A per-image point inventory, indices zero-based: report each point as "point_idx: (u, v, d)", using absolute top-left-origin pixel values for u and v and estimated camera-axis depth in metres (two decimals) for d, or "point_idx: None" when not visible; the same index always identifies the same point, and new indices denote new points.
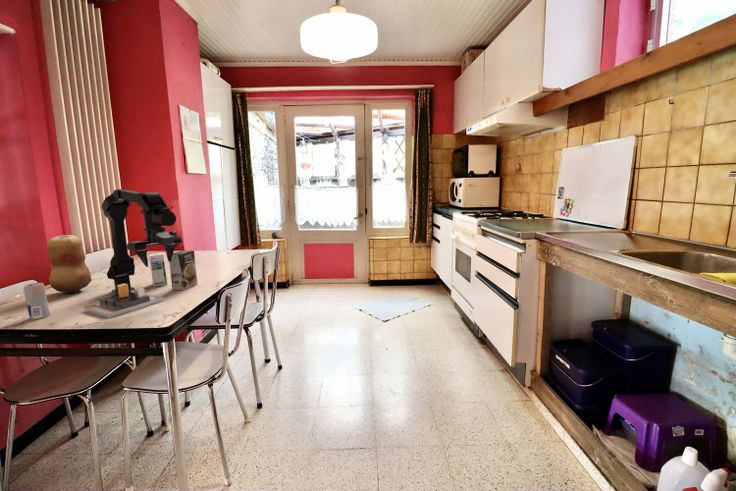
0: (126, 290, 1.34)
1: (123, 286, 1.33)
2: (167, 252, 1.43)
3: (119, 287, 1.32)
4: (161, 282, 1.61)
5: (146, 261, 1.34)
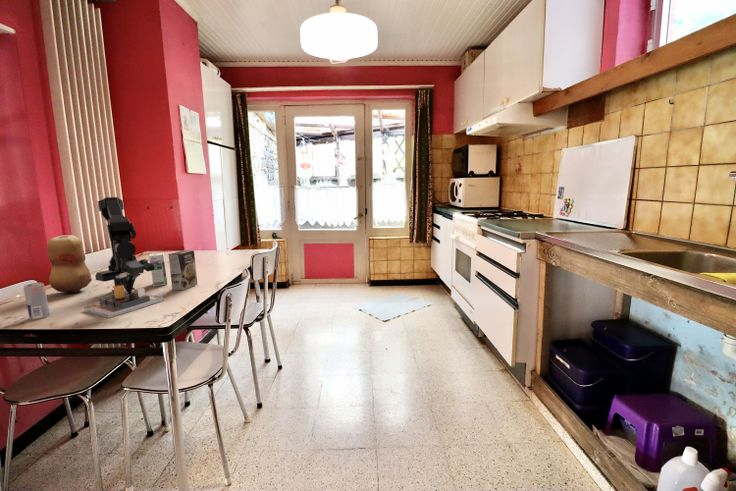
0: (122, 291, 1.33)
1: (119, 287, 1.32)
2: None
3: (115, 288, 1.31)
4: (161, 282, 1.61)
5: (128, 288, 1.35)
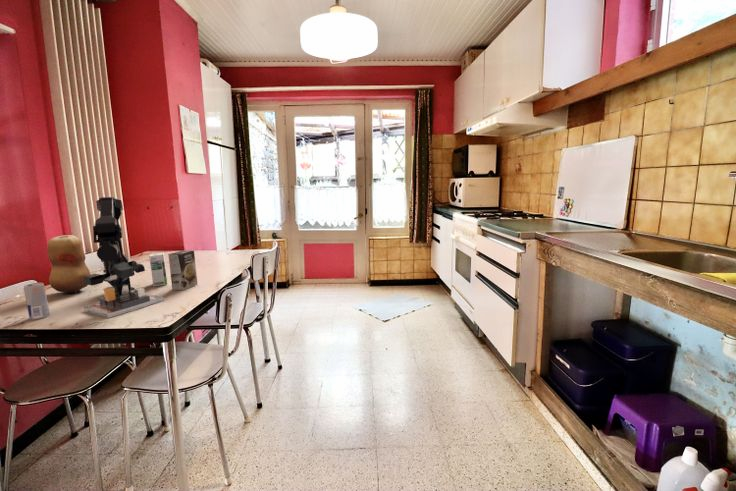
0: (113, 294, 1.30)
1: (109, 289, 1.29)
2: None
3: (105, 290, 1.28)
4: (161, 282, 1.61)
5: (119, 290, 1.32)
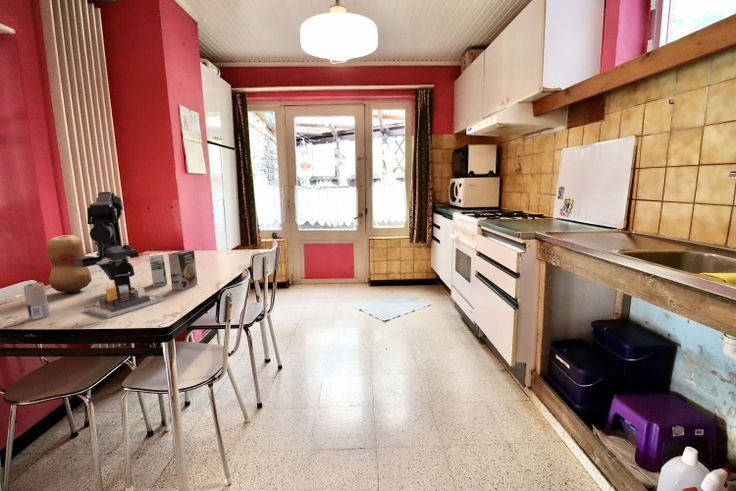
0: (114, 293, 1.30)
1: (111, 289, 1.29)
2: None
3: (107, 290, 1.29)
4: (161, 282, 1.61)
5: (111, 274, 1.29)
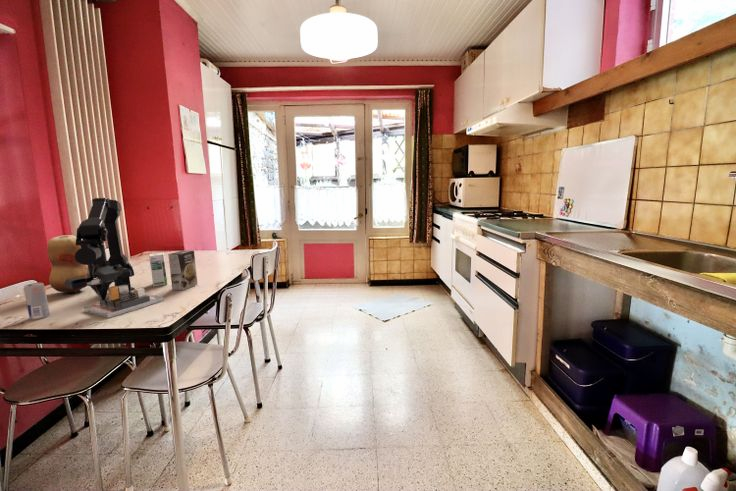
0: (117, 293, 1.31)
1: (113, 288, 1.30)
2: None
3: (109, 289, 1.29)
4: (161, 282, 1.61)
5: (101, 295, 1.27)
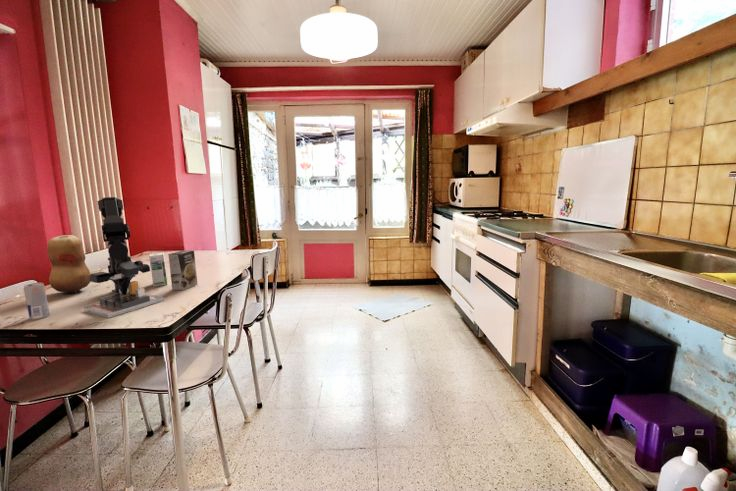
0: (137, 287, 1.37)
1: (134, 283, 1.36)
2: None
3: (130, 284, 1.36)
4: (161, 282, 1.61)
5: (123, 289, 1.33)
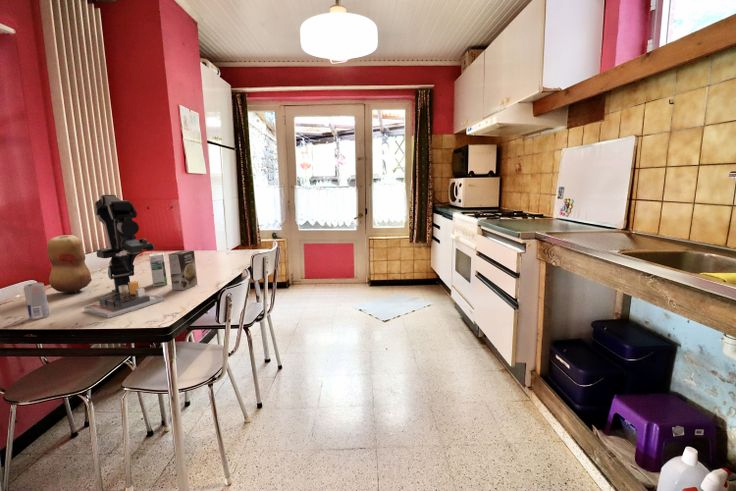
0: (137, 287, 1.37)
1: (134, 283, 1.36)
2: None
3: (130, 284, 1.36)
4: (161, 282, 1.61)
5: (128, 266, 1.40)
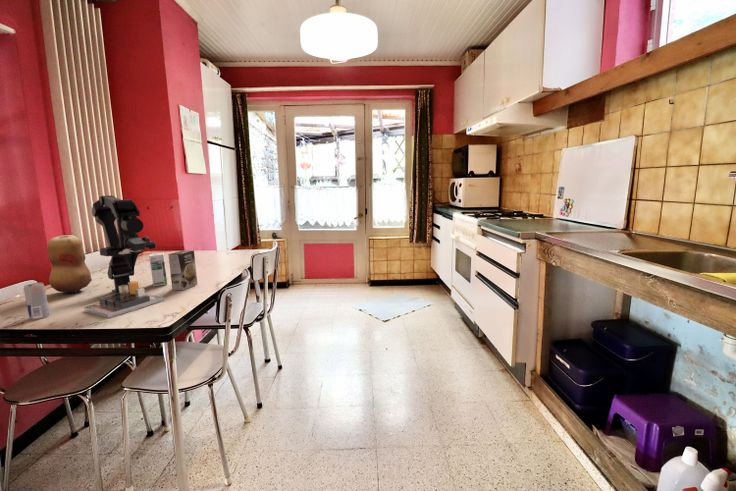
0: (137, 287, 1.37)
1: (134, 283, 1.36)
2: None
3: (130, 284, 1.36)
4: (161, 282, 1.61)
5: (131, 264, 1.42)
